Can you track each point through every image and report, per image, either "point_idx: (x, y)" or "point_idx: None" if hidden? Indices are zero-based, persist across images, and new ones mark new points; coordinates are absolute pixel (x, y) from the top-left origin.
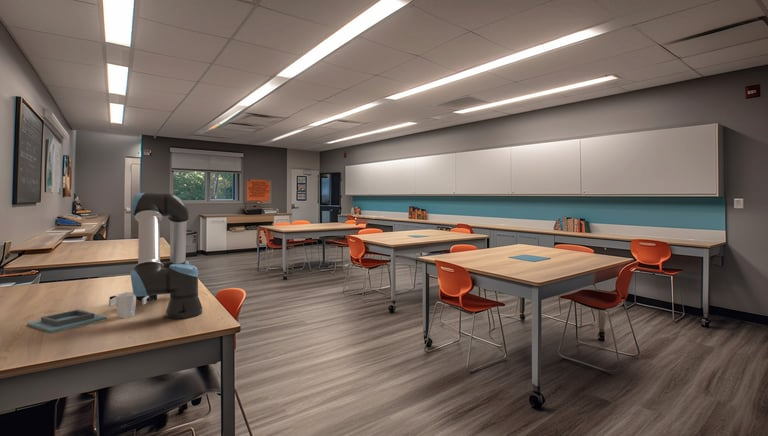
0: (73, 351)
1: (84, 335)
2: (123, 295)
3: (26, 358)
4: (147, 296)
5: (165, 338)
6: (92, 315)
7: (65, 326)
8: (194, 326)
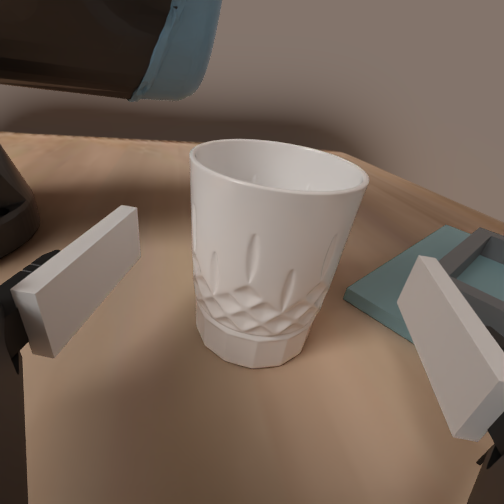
0: None
1: None
2: (325, 215)
3: None
4: (56, 258)
5: (119, 141)
6: None
7: (435, 238)
8: (15, 153)
